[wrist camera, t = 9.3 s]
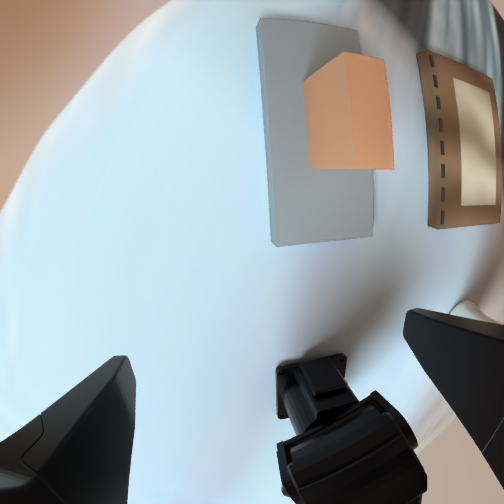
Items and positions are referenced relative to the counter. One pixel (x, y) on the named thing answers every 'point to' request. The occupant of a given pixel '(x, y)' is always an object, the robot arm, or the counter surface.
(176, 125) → the counter surface
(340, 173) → the gray plate with block
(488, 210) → the block
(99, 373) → the robot arm
